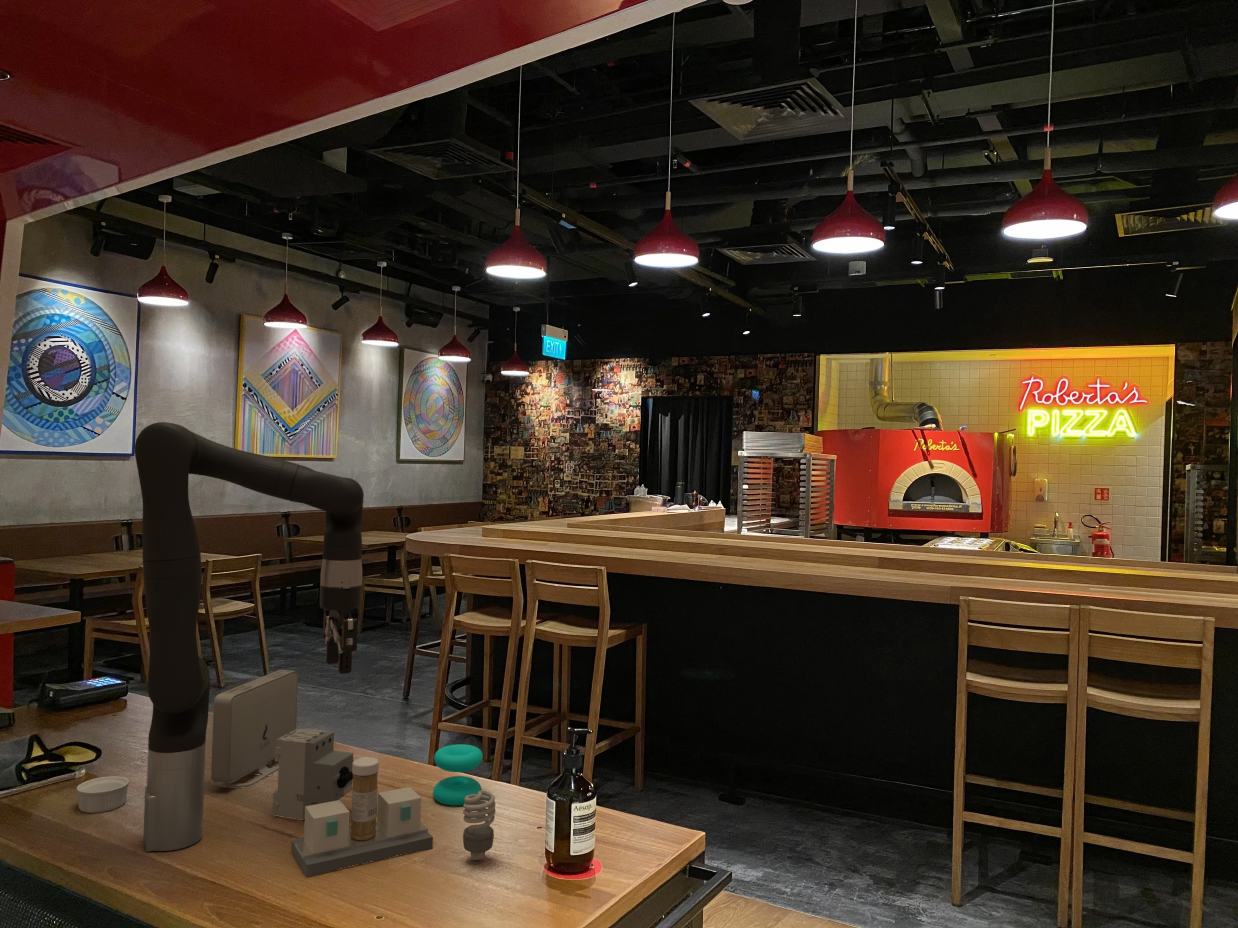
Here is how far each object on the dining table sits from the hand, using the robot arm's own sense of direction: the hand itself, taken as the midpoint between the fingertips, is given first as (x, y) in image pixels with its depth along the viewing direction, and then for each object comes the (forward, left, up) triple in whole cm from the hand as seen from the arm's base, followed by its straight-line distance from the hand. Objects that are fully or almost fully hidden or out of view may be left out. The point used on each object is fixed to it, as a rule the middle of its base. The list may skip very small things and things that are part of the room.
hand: (338, 668), depth 161 cm
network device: (-7, +37, -30) cm, 48 cm away
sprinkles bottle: (+2, -12, -28) cm, 30 cm away
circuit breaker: (-1, +8, -30) cm, 31 cm away
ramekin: (-36, +32, -30) cm, 57 cm away
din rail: (+2, -12, -28) cm, 31 cm away
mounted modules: (+2, -12, -28) cm, 30 cm away
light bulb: (+18, -26, -30) cm, 44 cm away
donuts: (+26, +2, -30) cm, 40 cm away
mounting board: (+2, -12, -30) cm, 32 cm away
